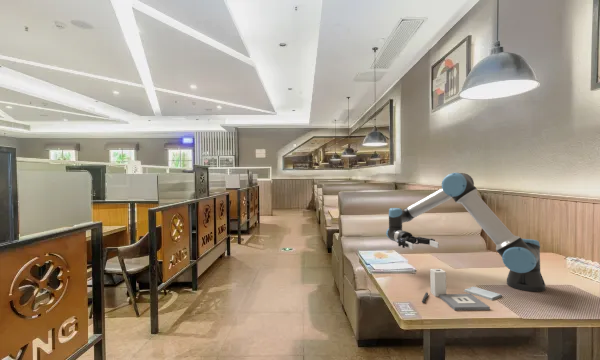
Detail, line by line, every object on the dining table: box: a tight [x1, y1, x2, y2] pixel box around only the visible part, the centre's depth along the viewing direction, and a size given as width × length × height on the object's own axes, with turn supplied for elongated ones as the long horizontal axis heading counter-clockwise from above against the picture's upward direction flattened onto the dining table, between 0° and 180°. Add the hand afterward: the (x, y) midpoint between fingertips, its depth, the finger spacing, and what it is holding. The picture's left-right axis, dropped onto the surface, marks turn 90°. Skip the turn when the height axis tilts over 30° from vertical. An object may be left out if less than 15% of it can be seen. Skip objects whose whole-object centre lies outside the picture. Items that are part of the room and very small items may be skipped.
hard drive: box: [463, 286, 503, 301], centre depth 137 cm, size 2×8×12 cm
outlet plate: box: [439, 293, 491, 311], centre depth 127 cm, size 14×14×2 cm
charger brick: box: [429, 268, 447, 298], centre depth 138 cm, size 5×5×11 cm
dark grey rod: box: [421, 292, 429, 304], centre depth 132 cm, size 11×1×1 cm, turn 149°
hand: (425, 246), depth 147 cm, fingers open, 13 cm apart
